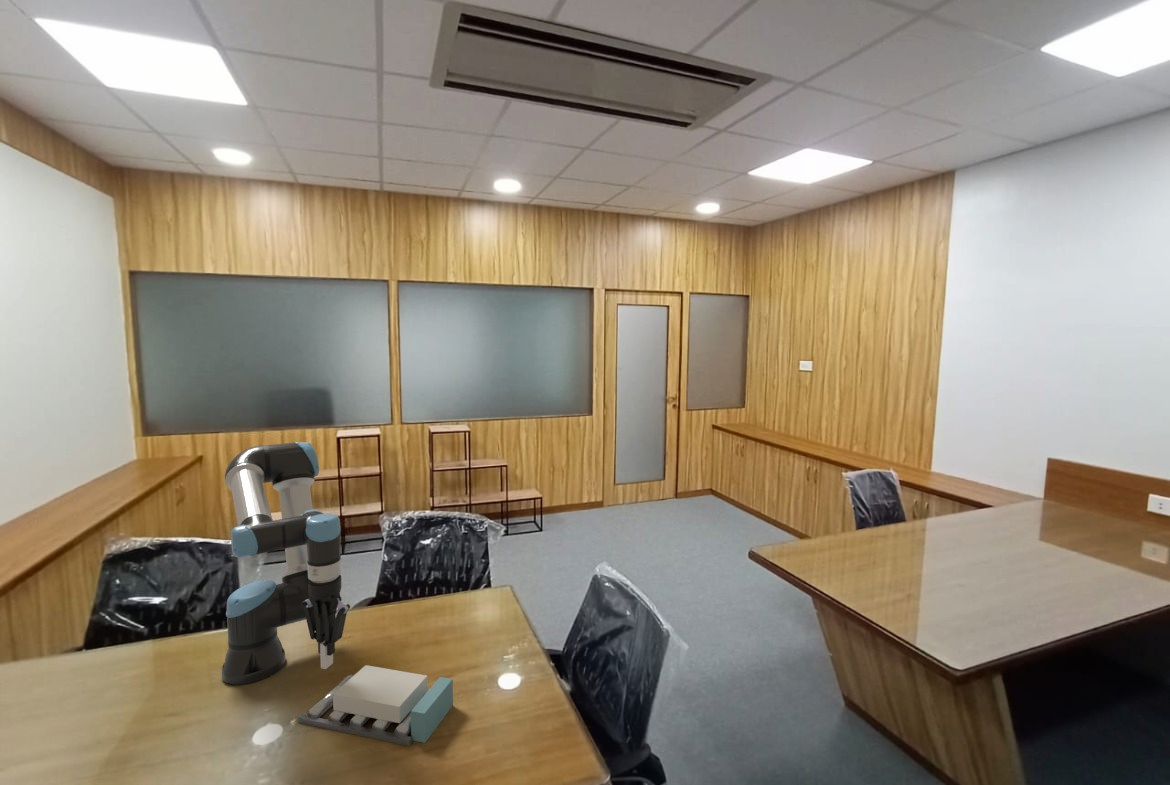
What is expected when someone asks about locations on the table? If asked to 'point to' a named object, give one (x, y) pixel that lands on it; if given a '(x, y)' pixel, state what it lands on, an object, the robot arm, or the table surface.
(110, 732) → the table surface
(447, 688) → the stop block
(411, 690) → the slab
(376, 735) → the roller bed
